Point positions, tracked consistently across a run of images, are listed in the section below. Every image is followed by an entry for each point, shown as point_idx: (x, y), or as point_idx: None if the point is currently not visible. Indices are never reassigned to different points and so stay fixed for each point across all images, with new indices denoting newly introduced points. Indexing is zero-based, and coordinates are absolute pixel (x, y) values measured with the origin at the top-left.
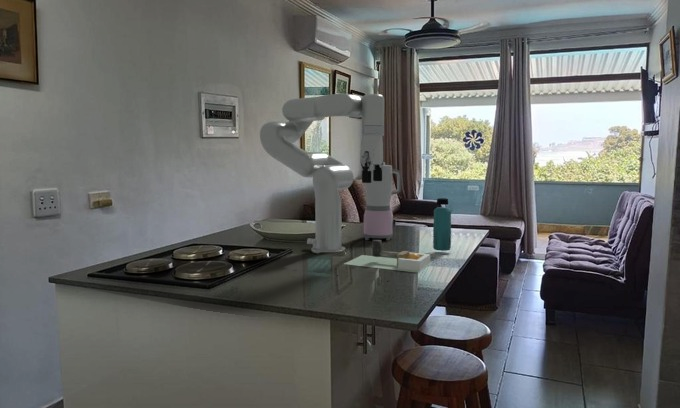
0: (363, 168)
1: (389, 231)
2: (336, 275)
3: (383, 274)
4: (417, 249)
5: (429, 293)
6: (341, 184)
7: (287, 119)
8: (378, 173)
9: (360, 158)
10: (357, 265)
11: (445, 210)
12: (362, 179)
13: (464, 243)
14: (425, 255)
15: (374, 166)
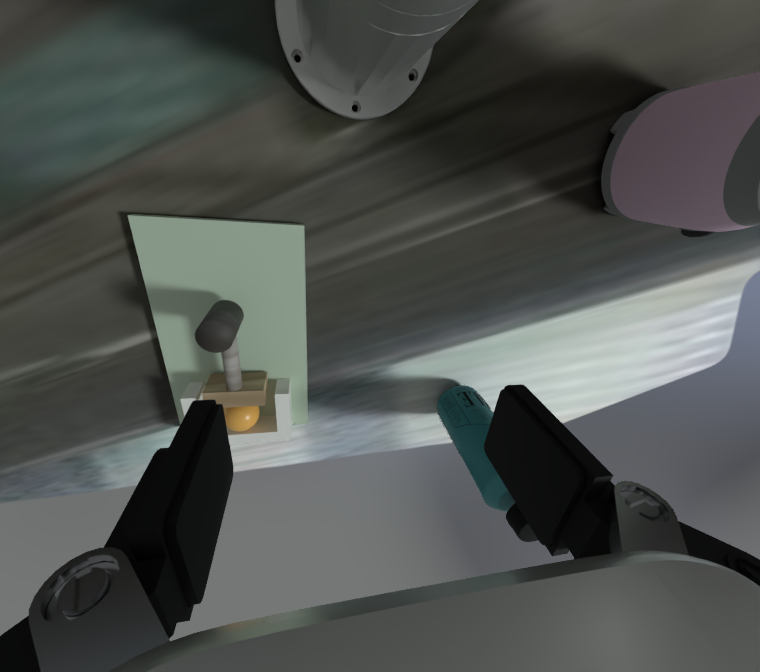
0: (9, 647)
1: (637, 218)
2: (5, 239)
3: (137, 357)
4: (482, 335)
5: (55, 483)
6: None
7: None
8: (529, 490)
9: None
10: (142, 270)
11: (491, 505)
12: (183, 426)
13: (575, 405)
14: (270, 435)
15: (613, 542)
